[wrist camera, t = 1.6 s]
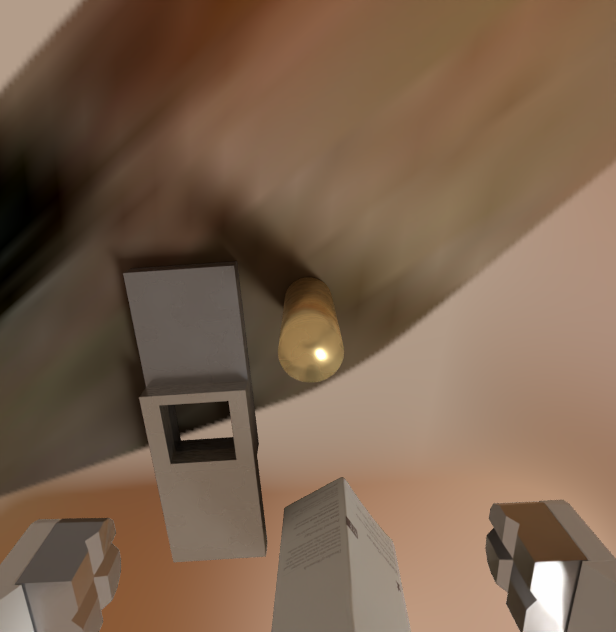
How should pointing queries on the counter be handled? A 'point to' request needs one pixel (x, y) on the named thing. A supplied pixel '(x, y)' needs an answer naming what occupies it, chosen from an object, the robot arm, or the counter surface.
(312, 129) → the counter surface
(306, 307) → the pin
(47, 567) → the robot arm
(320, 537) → the skincare box
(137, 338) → the bar with square hole
